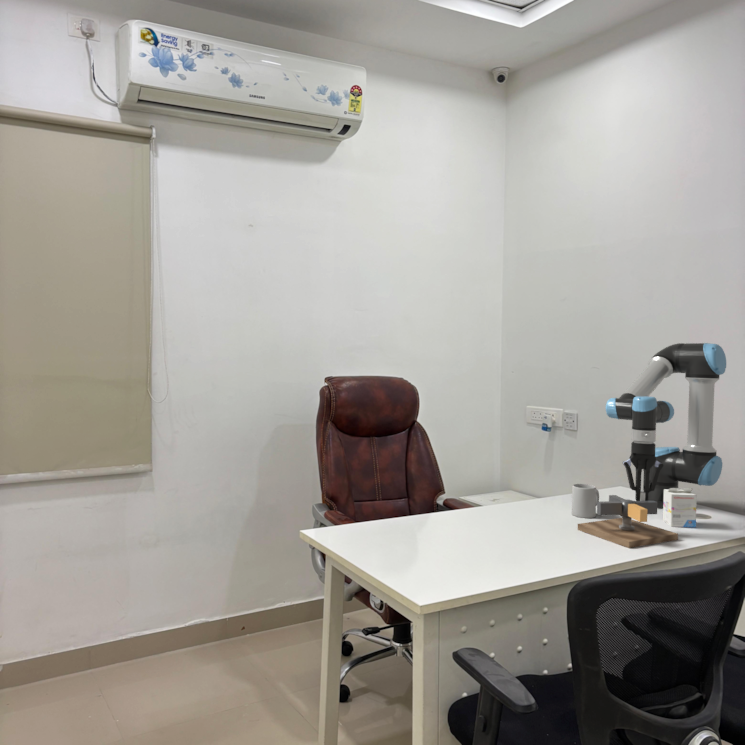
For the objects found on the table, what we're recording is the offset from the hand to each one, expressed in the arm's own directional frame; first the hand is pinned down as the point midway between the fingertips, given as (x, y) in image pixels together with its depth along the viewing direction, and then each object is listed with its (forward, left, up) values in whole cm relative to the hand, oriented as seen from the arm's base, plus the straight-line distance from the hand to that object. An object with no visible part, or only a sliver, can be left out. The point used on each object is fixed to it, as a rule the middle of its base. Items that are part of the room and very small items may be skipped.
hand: (641, 510), depth 216 cm
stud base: (+8, +1, -7) cm, 11 cm away
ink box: (-20, -1, -7) cm, 21 cm away
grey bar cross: (+8, +1, -1) cm, 8 cm away
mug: (+1, -24, -7) cm, 25 cm away
